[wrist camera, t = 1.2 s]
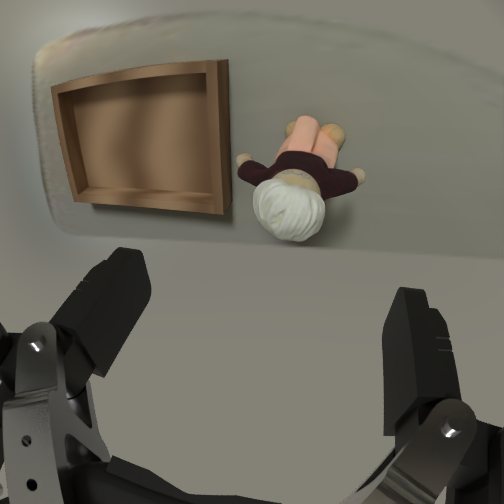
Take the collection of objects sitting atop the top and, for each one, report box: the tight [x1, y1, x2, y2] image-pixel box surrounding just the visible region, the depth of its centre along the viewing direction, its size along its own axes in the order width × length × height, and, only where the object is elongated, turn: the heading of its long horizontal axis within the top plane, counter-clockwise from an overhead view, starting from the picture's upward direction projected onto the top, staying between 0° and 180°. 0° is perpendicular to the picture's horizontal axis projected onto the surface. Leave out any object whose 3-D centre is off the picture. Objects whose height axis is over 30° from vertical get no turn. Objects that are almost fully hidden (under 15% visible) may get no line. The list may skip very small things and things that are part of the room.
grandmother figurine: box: [236, 116, 366, 242], centre depth 18 cm, size 8×4×13 cm, turn 100°
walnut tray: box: [51, 60, 232, 215], centre depth 24 cm, size 16×12×2 cm
